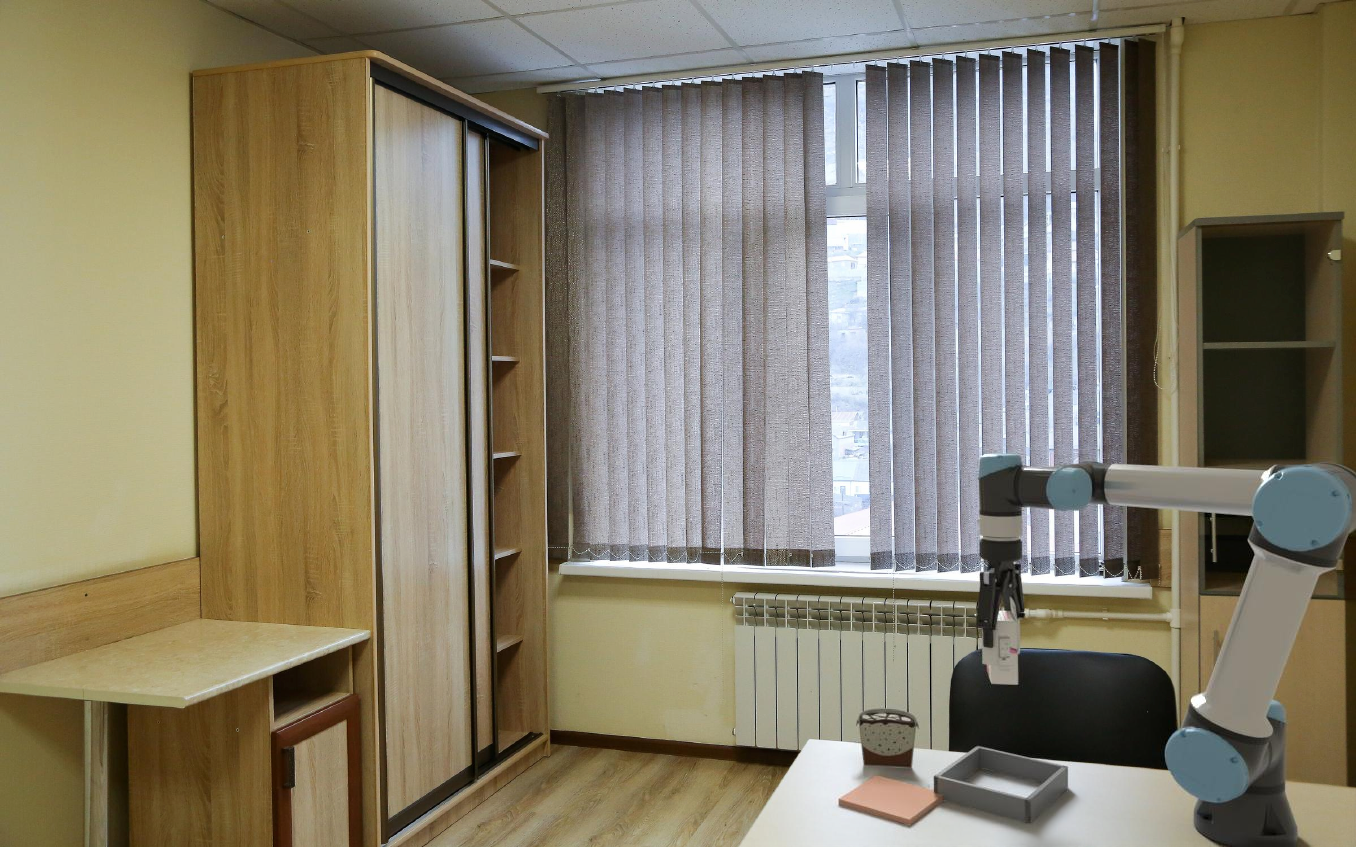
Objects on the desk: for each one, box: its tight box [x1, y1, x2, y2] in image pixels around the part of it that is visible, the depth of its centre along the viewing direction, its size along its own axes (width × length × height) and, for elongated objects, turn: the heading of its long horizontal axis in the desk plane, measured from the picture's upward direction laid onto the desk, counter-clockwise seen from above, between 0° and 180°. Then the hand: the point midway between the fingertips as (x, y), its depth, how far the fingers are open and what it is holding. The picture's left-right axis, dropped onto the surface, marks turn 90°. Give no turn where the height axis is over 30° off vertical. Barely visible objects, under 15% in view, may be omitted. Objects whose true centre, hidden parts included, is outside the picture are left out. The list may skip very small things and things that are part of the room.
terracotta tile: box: [838, 774, 944, 826], centre depth 179 cm, size 14×14×1 cm
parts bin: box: [933, 745, 1069, 824], centre depth 182 cm, size 18×20×4 cm
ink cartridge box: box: [986, 597, 1019, 686], centre depth 181 cm, size 9×5×15 cm, turn 168°
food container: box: [855, 707, 920, 769], centre depth 198 cm, size 12×6×10 cm, turn 80°
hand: (1001, 658), depth 181 cm, fingers closed on ink cartridge box, 10 cm apart
